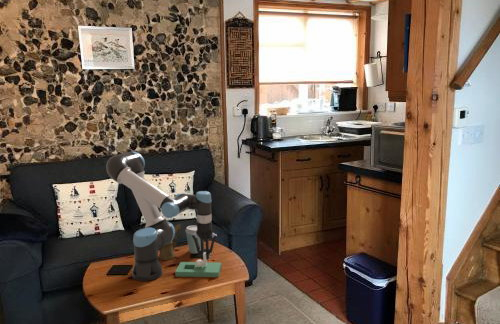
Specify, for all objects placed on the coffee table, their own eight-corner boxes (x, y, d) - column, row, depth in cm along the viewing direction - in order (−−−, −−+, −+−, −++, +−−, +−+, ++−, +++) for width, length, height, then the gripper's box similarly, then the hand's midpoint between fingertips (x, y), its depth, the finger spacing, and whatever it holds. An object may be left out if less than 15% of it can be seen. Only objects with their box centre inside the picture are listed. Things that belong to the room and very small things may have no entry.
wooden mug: (184, 256, 235) (183, 225, 231) (162, 261, 227) (160, 230, 224) (178, 251, 242) (177, 221, 239) (156, 256, 235) (154, 226, 232)
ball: (203, 265, 211) (198, 270, 212) (205, 262, 215) (200, 266, 216) (198, 259, 211) (193, 264, 212) (199, 256, 215) (194, 261, 216)
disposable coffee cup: (198, 246, 248) (197, 222, 246) (208, 251, 240) (207, 227, 237) (182, 251, 241) (181, 226, 239) (192, 256, 233) (191, 231, 231)
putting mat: (175, 276, 209) (175, 271, 209) (180, 266, 221) (180, 262, 220) (218, 277, 208) (218, 272, 207) (221, 266, 220) (221, 262, 219)
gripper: (190, 223, 206) (191, 267, 210) (215, 224, 205) (216, 268, 210) (193, 219, 213) (194, 261, 218) (217, 219, 213) (218, 262, 217)
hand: (205, 265), depth 214 cm, fingers closed
